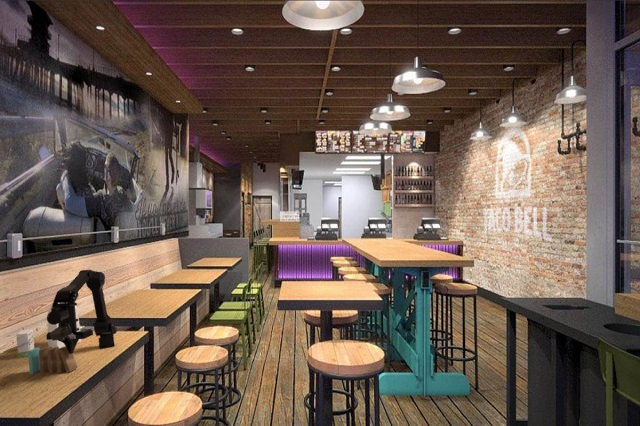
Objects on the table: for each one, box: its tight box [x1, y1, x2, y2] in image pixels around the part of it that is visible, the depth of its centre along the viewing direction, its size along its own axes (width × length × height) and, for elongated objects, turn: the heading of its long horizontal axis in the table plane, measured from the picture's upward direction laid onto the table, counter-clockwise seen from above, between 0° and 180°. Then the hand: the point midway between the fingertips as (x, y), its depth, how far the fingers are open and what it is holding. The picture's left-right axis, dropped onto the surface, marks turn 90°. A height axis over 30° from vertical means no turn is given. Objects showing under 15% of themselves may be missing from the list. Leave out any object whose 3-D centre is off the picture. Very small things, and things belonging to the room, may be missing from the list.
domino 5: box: [59, 348, 78, 373], centre depth 181 cm, size 2×4×10 cm, turn 170°
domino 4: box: [56, 346, 67, 374], centre depth 182 cm, size 2×4×10 cm, turn 170°
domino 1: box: [27, 347, 41, 375], centre depth 183 cm, size 2×4×10 cm, turn 170°
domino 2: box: [39, 346, 51, 374], centre depth 183 cm, size 2×4×10 cm, turn 170°
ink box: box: [15, 328, 35, 359], centre depth 209 cm, size 8×5×12 cm, turn 19°
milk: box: [47, 296, 83, 348], centre depth 223 cm, size 12×12×26 cm
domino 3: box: [47, 347, 59, 374], centre depth 183 cm, size 2×4×10 cm, turn 170°
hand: (71, 353), depth 181 cm, fingers closed
